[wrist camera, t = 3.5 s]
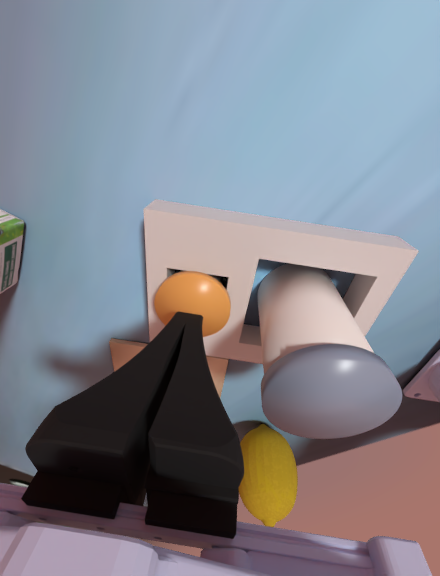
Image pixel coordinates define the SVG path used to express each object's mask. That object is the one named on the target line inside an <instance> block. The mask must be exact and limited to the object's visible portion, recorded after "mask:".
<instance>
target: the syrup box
mask: <svg viewBox="0 0 440 576" xmlns="http://www.w3.org/2000/svg"><path fill="white" fill-rule="evenodd" d="M23 230H24V222H23V220H21V219H19V218H17V217H15V216H13V215H11V214H9V213H7V212H5V211H3V210H1V209H0V294H1V293H2V292H4V291H5V290H7V289H8V288H10V287H12V286H13V285H15V284H16V282H18V269H19V265H20V257H21V248H22V239H23Z"/></svg>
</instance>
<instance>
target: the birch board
mask: <svg viewBox="0 0 440 576" xmlns="http://www.w3.org/2000/svg"><path fill="white" fill-rule="evenodd" d="M109 344H110V349H111V355H112V361H113V366H114V372H115V371H116V370H117V369H119V368H120V367H122V366H123V365H124V364H126V363H127V362H128V361H129V360H131V359H132V358H133V357H134V356H136V355H137V354H138V353H139V352H140V351H141V350H142V349H143V348H144V347H146V346H147V345H148V344H146V343H139V342H133V341H126V340H120V339H113V338H111V340H110V341H109ZM206 358H207V362H208V366H209V369H210V373H211V376H212V379H213V382H214V385H215V387H216V390H217V392H218V395H219V397H221V392H222V387H223V383H224V378H225V374H226V369H227V365H228V360H229V359H227V358H221V357H214V356H208V355H206Z"/></svg>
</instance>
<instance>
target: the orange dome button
mask: <svg viewBox="0 0 440 576" xmlns="http://www.w3.org/2000/svg"><path fill="white" fill-rule="evenodd" d="M154 305H155V310H156V313H157V315H158V317H159V319H160V320H161V321H162V323H163V324H164V325H165V326H166V325H167V324H168V322H169V321H170V320H171V319H172V317H173V316H174V315H175V313H176V312H178V311H179V312H185V313H191V314H198V315H202V316H203V324H202V333H203V337H206V336H210V335H213V334H215V333H217V332H218V331H220V330H221V329H222V328H223V327H224V326H225V325H226V324H227V322H228V320H229V317H230V309H231V301H230V296H229V294H228V292H227V290H226V289H225V287H224V286H223V285H222V279H221V276H217V275H210V274H205V273H202V272H197V271H184V270H181V271H180V272H178V273H175V274H173V275H171V276H169V277H168V278H167V279H165V280H164V282H163V283H162V284H161V286H160V287H159V289H158V291H157V293H156V296H155V300H154Z"/></svg>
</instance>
